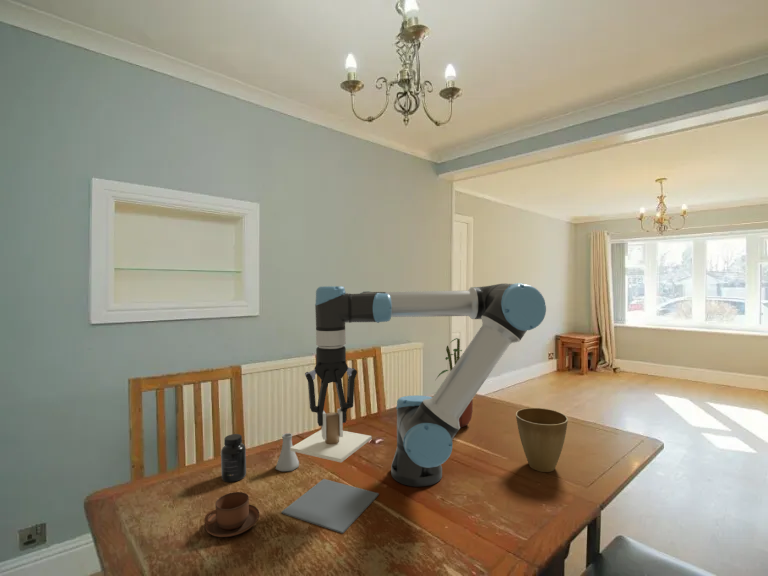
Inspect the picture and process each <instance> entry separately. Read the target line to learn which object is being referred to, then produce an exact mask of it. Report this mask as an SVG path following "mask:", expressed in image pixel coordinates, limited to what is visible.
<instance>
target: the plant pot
mask: <svg viewBox="0 0 768 576" xmlns="http://www.w3.org/2000/svg"><path fill="white" fill-rule="evenodd" d="M515 417H516V419H515V420H516V425H517V430H518V434H519V438H520V442H521V446H522V449H523V451H524V455H525V457H526V461H527V463H528V465H529V467H530V468H531V469H532V470H535V471H537V472H541V473H542V472H543V473H550V472H553V471H555V470H556V467H557V465H558V463H559V460H560V457H561V454H562V451H563V449H564V448H563V446H564V443H565V440H566V439H565V438H566V434H567V428H568V422H569V421H568V419H569V418H568V416H567V415H566V414H564V413H563V412H560V411H557V410H554V409H550V408H541V407H526V408H521V409H518V410H517V411H516V412H515Z"/></svg>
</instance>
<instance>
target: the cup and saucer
mask: <svg viewBox="0 0 768 576" xmlns="http://www.w3.org/2000/svg"><path fill="white" fill-rule="evenodd" d="M249 497H250V496H249V495H248V494H247V493H246V492H243V491H236V492H235V491H233V492H229V493H226V494H224V495H221V496H220V497H218V499H216V501H215V510H213V509H212V510H211V511H208V513H206V514H205V516H204V519H203V520H204V529H205V530H206V532H207V533H208V534H210V535H212V536H214V537H219V538H229V537H235V536H238V535H241V534H243V533H245V532H247V531H248V530H249V529H251V528H252V527H253V526H254V525H256V523H257V522H258V520H259V517H260V511H259V509H258V507H256V506H255V505H253V504H249V503H250V498H249Z"/></svg>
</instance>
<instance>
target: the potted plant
mask: <svg viewBox="0 0 768 576" xmlns="http://www.w3.org/2000/svg"><path fill="white" fill-rule="evenodd" d="M454 341H456V348H453V349H452V351H453V353H451V351H450V347H449V345H447V346H446V348H445V349H446V350H445V351H446V353H447V357H445V361H447V360H448V364H449V369H445V370H442V371H441V372H440V373H438V375H437V377H436V379H435V380H437V379H438V378H439V377H440V376H441V375H442V374H445V373H446V372H448V371H449V372H450V371H451V370H452V368H453V367H454V366H453V362H454V365H455V364H456V363H457V361H458V360H459V358H460V357H461V356H460V352H462V351H463V349H461V348H460V347H461V346H460V345H461V342H460V341H461V339H460V338H458V337H455V338H454V339H452V340H451V341H450V343H449V344H451V343H452V342H454ZM452 356H453V359H454V361H453V360H452ZM473 399H474V398H473ZM473 399H472V400H471V402H470V403H469V405H468V406H467V408H466V409H465V411H464V412H463V413H462V415H461V416H460V418H459V425H460V428H463V427H464V428H465V427H466V426H467V425H468V424H469V423H470V422H471V420H472V417H473V409H474V408H473V405H474V403H473V401H474V400H473Z"/></svg>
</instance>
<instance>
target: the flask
mask: <svg viewBox="0 0 768 576" xmlns="http://www.w3.org/2000/svg"><path fill="white" fill-rule="evenodd" d="M281 438H282V444H281V445H282V446H281V450H280V453H279V457H278V458H277V459H278V460H277V463H276V466H275V470H277V471H279V472H292V471H294V470H295V469H298V468H299V466H300V461H299V457H298V456H297V454H296V452H293V451H290V448H291V447H292V446H294V445H293V440H292V439H293V433H291V432H289V433H288V432H287V433H286V432H285V433H284V434H282V435H281Z"/></svg>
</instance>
